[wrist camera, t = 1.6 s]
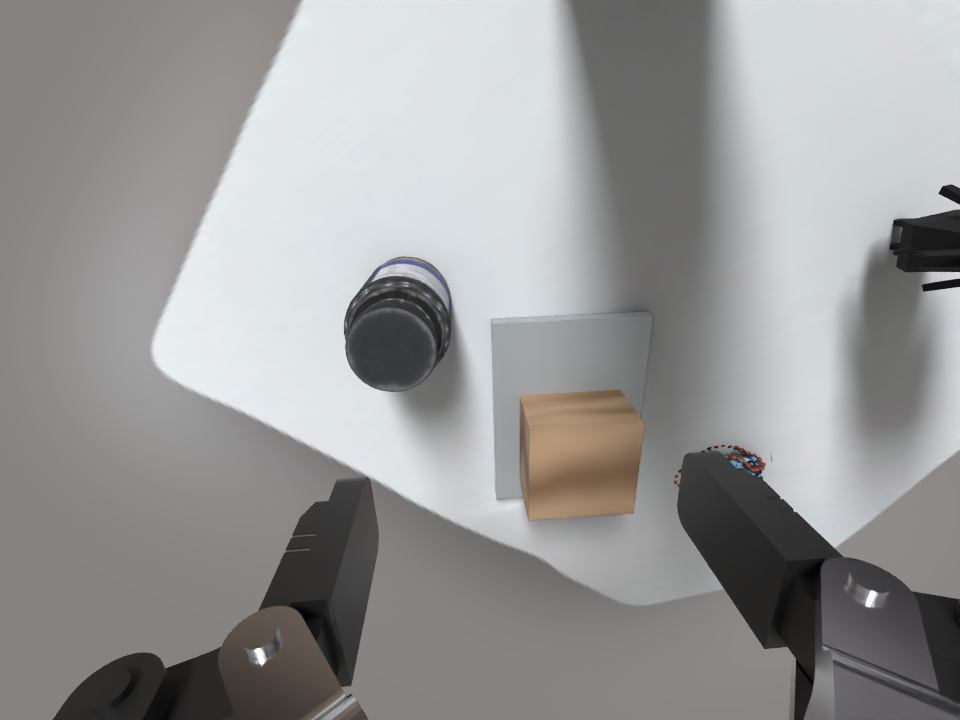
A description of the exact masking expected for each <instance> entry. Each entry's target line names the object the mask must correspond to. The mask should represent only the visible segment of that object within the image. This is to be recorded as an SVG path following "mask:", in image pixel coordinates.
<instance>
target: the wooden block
mask: <svg viewBox="0 0 960 720" xmlns="http://www.w3.org/2000/svg"><path fill="white" fill-rule="evenodd" d="M644 424H645V422H644V420H643V419H642V418H641V416H640V415H639V414H638V413H637V411H636V410H635V409H634V407H633V406H632V405H631V403H630V402H629V401H628V400H627V398H626V397H625V396H624V394H623V393H622V392H621V390H606V391H589V392H571V393H553V394H536V395H520V483H521V488H522V492H523V497H524V502H525V506H526V511H527V515H528V520H529V521H531V520H545V519H560V518H575V517H589V516H604V515H619V514H633V513H634V505H635V497H636V489H637V481H638V473H639V465H640V456H641V448H642V440H643V432H644Z"/></svg>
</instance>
